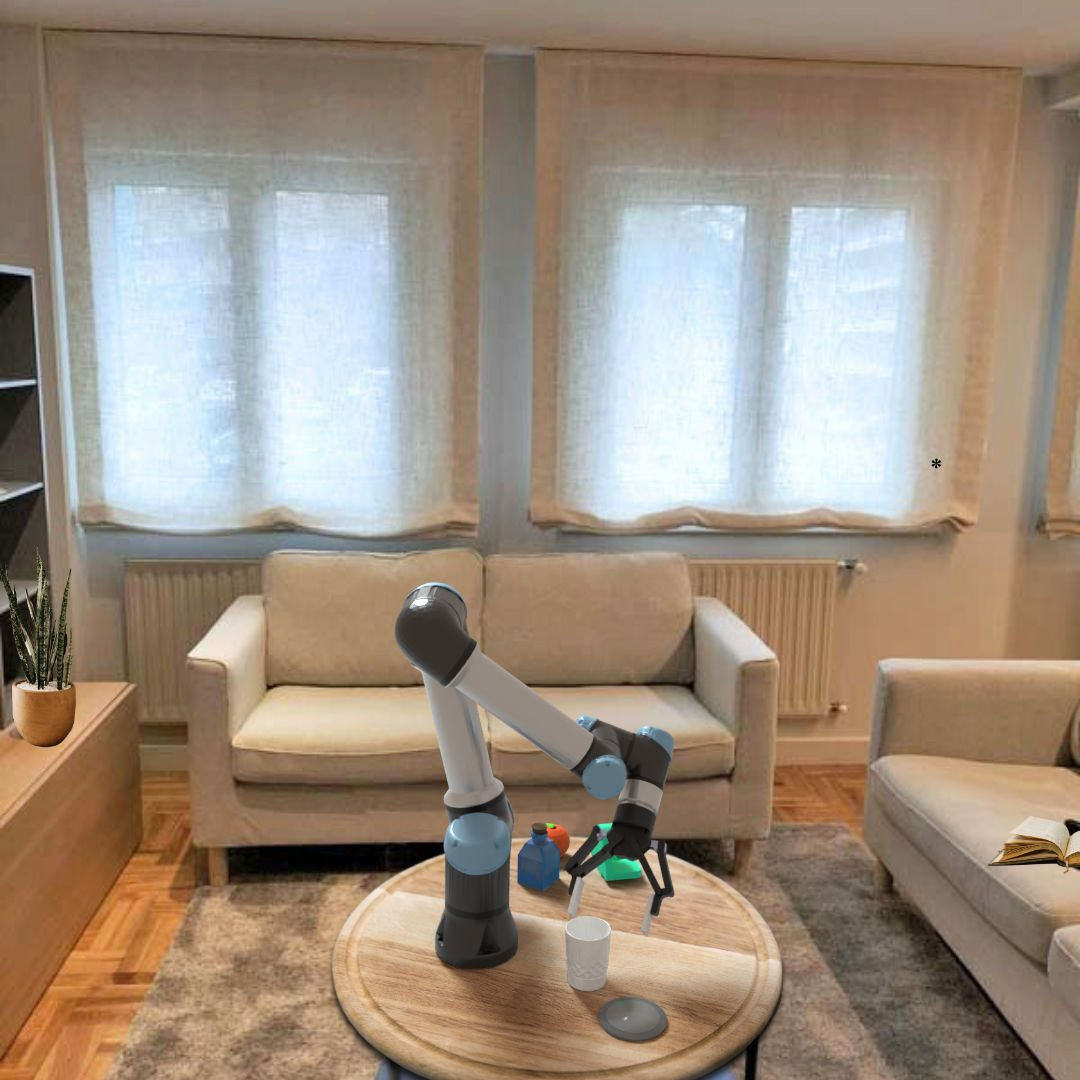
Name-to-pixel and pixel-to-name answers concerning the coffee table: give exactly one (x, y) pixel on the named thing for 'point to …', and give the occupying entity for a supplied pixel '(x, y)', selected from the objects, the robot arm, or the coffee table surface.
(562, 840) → the clementine
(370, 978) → the coffee table surface
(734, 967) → the coffee table surface
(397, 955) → the coffee table surface
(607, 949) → the white cup
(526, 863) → the perfume bottle
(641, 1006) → the coaster
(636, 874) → the camera mount
